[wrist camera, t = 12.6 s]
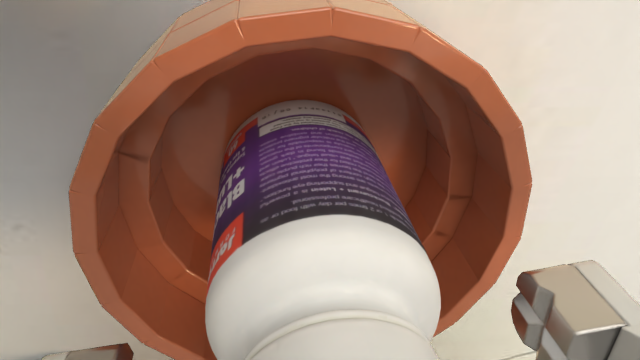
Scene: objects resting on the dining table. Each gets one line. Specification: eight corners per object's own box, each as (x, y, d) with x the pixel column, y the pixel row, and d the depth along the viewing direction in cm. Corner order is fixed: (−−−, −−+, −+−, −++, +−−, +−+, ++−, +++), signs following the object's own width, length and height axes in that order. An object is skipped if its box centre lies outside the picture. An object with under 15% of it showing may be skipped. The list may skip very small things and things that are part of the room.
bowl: (61, 2, 12) (-35, 52, 8) (473, -46, 13) (577, -24, 9) (175, 298, 19) (154, 409, 15) (446, 254, 20) (499, 347, 16)
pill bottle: (209, 102, 14) (151, 379, 6) (374, 88, 14) (534, 325, 6) (233, 234, 17) (216, 542, 9) (369, 218, 17) (475, 496, 9)
